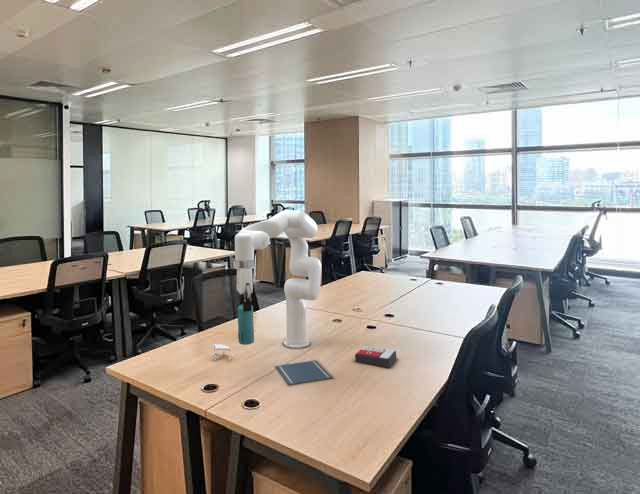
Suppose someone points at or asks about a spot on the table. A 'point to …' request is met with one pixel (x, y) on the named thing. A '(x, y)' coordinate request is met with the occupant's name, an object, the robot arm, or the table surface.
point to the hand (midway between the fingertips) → (245, 308)
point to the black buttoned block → (376, 356)
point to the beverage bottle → (245, 325)
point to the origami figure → (221, 347)
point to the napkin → (303, 372)
